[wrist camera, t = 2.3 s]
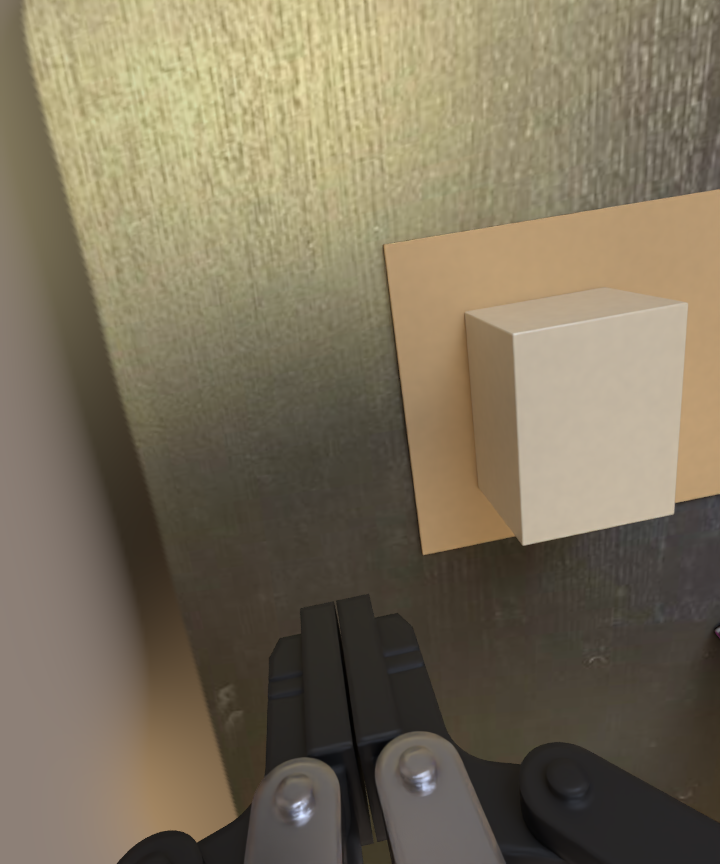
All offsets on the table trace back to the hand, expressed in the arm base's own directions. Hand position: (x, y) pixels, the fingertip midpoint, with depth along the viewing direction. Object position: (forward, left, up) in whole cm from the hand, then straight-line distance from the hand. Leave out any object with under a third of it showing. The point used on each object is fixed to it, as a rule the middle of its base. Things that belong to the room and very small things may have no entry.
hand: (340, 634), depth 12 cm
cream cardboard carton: (+4, +9, -12) cm, 16 cm away
